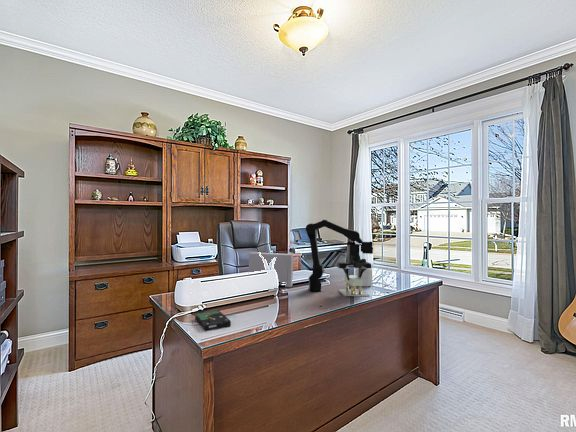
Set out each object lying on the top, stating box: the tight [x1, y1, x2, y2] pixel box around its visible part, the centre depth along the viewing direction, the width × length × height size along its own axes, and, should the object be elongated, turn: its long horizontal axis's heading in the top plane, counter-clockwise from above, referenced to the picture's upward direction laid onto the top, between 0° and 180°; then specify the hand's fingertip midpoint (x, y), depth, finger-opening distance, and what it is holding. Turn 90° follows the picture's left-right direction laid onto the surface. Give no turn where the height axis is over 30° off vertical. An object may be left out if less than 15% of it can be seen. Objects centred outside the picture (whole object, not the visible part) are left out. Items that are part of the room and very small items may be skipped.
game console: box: [248, 251, 294, 288], centre depth 186 cm, size 6×27×20 cm, turn 78°
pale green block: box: [344, 274, 364, 287], centre depth 169 cm, size 6×12×4 cm, turn 11°
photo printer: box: [355, 267, 373, 287], centre depth 188 cm, size 10×4×12 cm, turn 86°
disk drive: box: [194, 310, 232, 332], centre depth 120 cm, size 10×3×15 cm
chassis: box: [338, 282, 370, 297], centre depth 169 cm, size 14×12×5 cm
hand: (353, 280), depth 169 cm, fingers closed on pale green block, 6 cm apart
